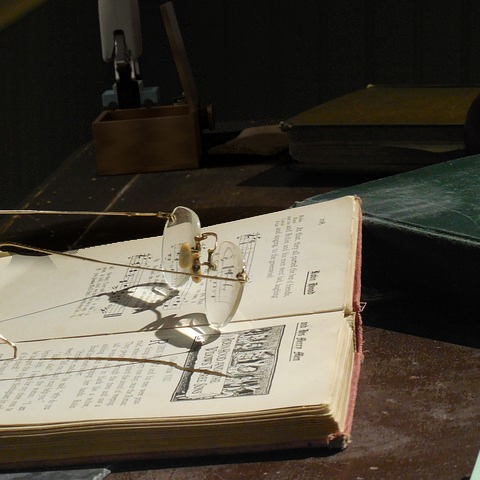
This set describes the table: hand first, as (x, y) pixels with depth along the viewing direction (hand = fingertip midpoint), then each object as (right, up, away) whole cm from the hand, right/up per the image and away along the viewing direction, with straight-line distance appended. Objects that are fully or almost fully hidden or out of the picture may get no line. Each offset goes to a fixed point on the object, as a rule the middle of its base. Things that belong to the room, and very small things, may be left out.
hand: (132, 104), depth 143 cm
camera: (+8, -4, +17) cm, 19 cm away
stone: (+18, -6, +7) cm, 21 cm away
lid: (+7, +7, -1) cm, 10 cm away
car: (0, 0, 0) cm, 0 cm away
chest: (+3, -9, +3) cm, 9 cm away
